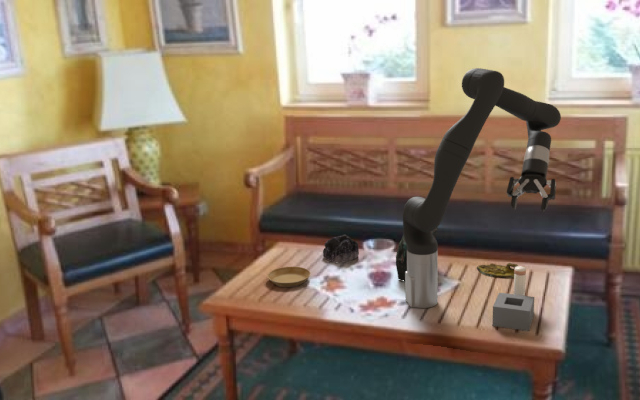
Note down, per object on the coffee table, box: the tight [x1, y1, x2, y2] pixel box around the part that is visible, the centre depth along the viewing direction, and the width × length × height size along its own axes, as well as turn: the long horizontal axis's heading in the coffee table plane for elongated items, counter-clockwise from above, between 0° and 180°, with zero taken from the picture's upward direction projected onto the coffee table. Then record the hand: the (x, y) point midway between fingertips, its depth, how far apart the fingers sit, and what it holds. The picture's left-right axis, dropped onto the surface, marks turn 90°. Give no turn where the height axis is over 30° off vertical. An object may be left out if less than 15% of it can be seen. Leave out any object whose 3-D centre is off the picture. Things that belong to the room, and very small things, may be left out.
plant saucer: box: [267, 266, 311, 288], centre depth 227 cm, size 15×15×3 cm
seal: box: [476, 262, 519, 279], centre depth 225 cm, size 9×5×15 cm
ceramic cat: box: [395, 227, 439, 281], centre depth 226 cm, size 20×6×20 cm, turn 136°
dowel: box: [513, 265, 527, 296], centre depth 199 cm, size 3×3×12 cm
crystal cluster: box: [322, 234, 360, 264], centre depth 246 cm, size 13×14×10 cm
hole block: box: [491, 292, 535, 332], centre depth 190 cm, size 10×10×6 cm
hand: (528, 209), depth 203 cm, fingers open, 8 cm apart
